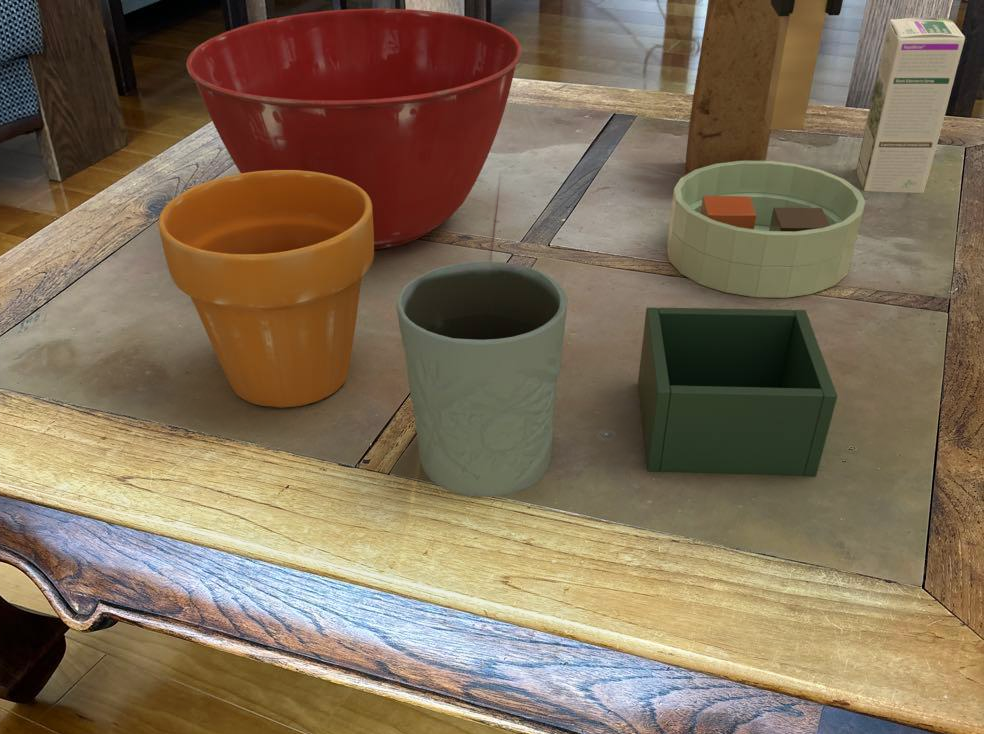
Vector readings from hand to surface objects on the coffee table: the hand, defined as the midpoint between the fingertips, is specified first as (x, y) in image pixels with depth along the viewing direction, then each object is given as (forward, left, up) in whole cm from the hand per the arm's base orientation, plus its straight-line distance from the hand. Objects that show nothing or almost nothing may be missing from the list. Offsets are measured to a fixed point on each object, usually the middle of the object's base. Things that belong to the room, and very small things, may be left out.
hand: (804, 7), depth 58 cm
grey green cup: (+18, +11, -25) cm, 33 cm away
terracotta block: (-1, -20, -24) cm, 32 cm away
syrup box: (-19, -36, -25) cm, 48 cm away
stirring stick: (0, 0, -7) cm, 7 cm away
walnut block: (-7, -18, -24) cm, 31 cm away
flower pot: (+33, +1, -25) cm, 41 cm away
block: (-3, -36, -25) cm, 44 cm away
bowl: (-4, -19, -25) cm, 32 cm away
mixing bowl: (+31, -27, -25) cm, 48 cm away
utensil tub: (+2, +7, -25) cm, 26 cm away
